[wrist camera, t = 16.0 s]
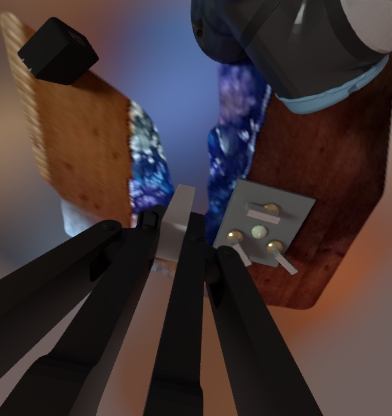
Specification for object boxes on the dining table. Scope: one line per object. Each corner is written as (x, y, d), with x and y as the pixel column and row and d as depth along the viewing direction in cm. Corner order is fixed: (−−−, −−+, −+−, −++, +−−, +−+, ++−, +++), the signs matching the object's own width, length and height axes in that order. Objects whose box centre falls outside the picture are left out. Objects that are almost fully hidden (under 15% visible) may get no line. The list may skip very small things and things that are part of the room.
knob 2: (280, 205, 51) (287, 215, 46) (272, 219, 53) (279, 229, 48) (247, 195, 50) (251, 204, 45) (241, 210, 52) (244, 220, 47)
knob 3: (263, 245, 57) (268, 258, 52) (275, 237, 55) (282, 249, 50) (281, 263, 59) (288, 277, 54) (293, 255, 57) (302, 269, 52)
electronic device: (100, 58, 41) (70, 42, 32) (69, 86, 44) (33, 78, 35) (87, 37, 40) (51, 14, 31) (55, 67, 43) (14, 54, 34)
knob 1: (224, 233, 56) (225, 245, 51) (237, 227, 54) (240, 238, 49) (238, 255, 59) (241, 268, 54) (251, 249, 57) (255, 262, 52)
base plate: (238, 177, 51) (240, 180, 48) (312, 197, 52) (318, 201, 49) (212, 247, 61) (212, 253, 58) (274, 262, 62) (277, 270, 59)
